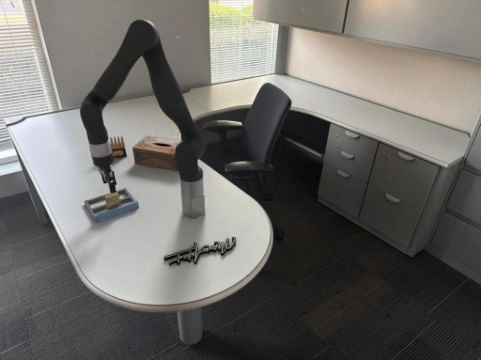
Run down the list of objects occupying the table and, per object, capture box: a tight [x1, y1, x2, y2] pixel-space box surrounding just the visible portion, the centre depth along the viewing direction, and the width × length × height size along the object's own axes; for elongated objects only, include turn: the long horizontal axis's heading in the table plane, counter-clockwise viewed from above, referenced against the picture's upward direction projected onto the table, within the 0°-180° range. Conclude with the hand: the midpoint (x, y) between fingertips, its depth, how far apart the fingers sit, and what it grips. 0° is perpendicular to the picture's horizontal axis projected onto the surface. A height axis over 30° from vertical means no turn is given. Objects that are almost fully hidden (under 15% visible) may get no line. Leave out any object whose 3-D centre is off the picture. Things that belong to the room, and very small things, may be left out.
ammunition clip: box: [109, 135, 128, 159], centre depth 176 cm, size 11×2×12 cm, turn 111°
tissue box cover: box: [132, 135, 183, 173], centre depth 175 cm, size 26×14×10 cm, turn 75°
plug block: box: [103, 190, 122, 211], centre depth 140 cm, size 3×5×8 cm, turn 126°
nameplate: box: [163, 236, 237, 266], centre depth 123 cm, size 27×2×10 cm
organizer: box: [84, 187, 140, 223], centre depth 144 cm, size 15×18×3 cm
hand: (109, 187), depth 135 cm, fingers open, 8 cm apart
